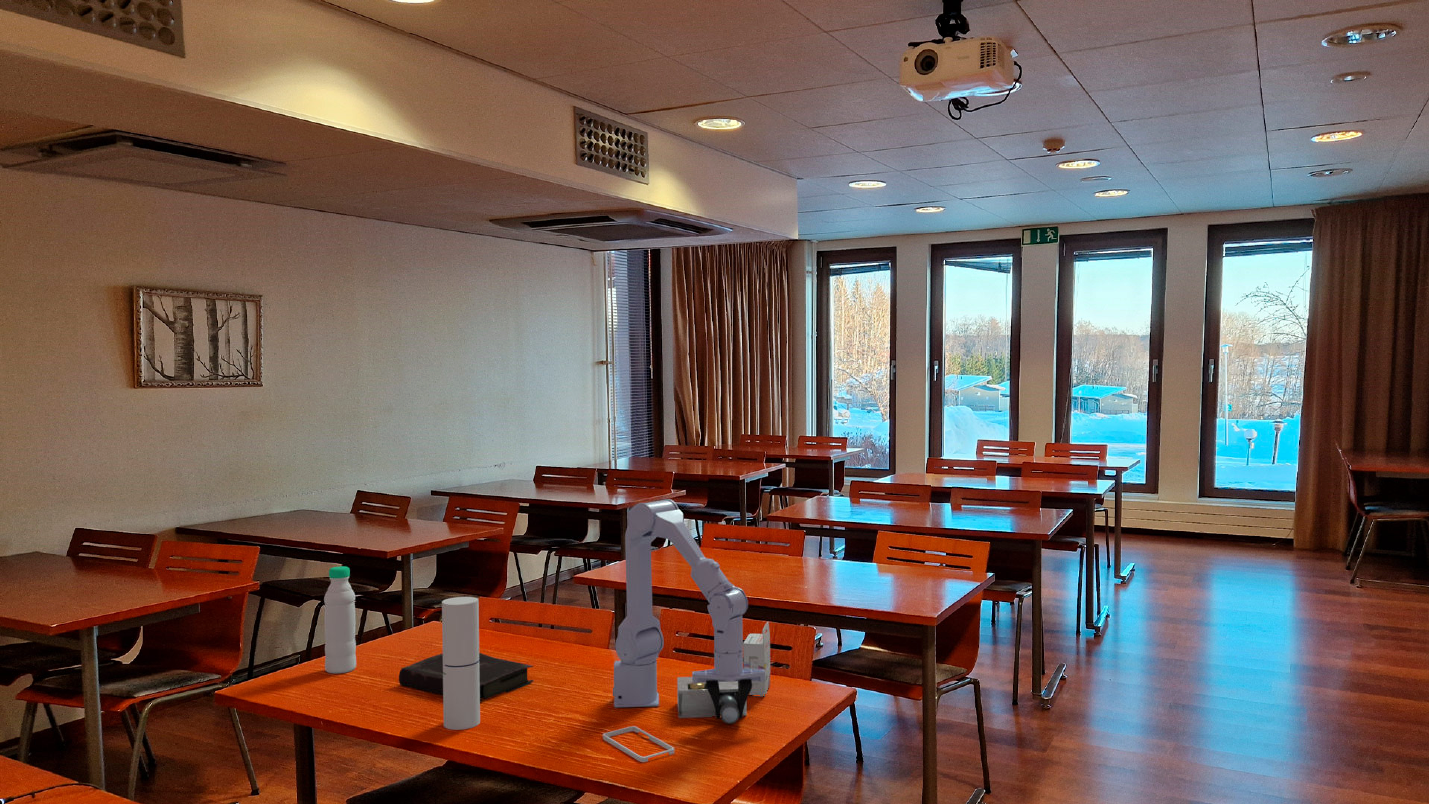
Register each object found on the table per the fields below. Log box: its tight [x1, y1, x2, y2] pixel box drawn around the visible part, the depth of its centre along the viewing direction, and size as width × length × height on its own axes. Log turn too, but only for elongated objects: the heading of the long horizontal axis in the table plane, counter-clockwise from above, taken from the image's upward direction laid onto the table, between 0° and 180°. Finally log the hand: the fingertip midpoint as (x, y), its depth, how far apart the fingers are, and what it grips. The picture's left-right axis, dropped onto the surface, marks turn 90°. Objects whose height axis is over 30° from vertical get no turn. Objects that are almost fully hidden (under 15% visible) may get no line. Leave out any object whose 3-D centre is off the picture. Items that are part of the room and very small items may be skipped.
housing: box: [676, 676, 748, 719], centre depth 197 cm, size 14×9×6 cm, turn 94°
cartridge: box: [719, 692, 739, 725], centre depth 192 cm, size 4×12×4 cm, turn 4°
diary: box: [398, 652, 534, 702], centre depth 216 cm, size 19×25×5 cm
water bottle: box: [323, 565, 357, 675], centre depth 227 cm, size 7×7×25 cm
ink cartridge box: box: [743, 621, 771, 697], centre depth 209 cm, size 9×5×15 cm, turn 168°
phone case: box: [602, 725, 675, 763], centre depth 177 cm, size 7×1×15 cm
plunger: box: [690, 682, 705, 690], centre depth 195 cm, size 3×3×2 cm
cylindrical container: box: [441, 596, 481, 731], centre depth 190 cm, size 7×7×25 cm
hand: (729, 717), depth 188 cm, fingers closed on cartridge, 4 cm apart
